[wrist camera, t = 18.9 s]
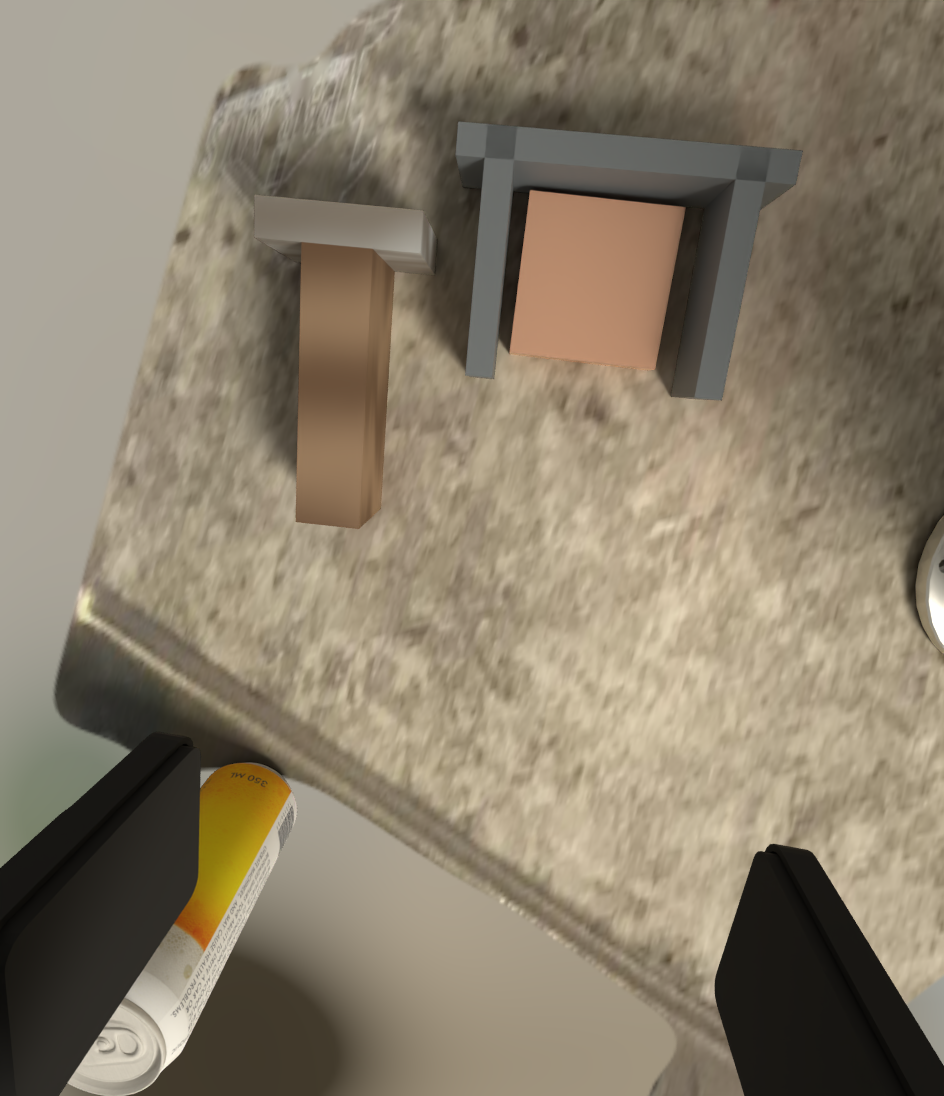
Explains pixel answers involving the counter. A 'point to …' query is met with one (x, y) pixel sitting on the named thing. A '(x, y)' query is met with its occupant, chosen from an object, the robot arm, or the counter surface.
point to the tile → (595, 279)
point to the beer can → (196, 930)
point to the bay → (640, 176)
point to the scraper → (343, 341)
